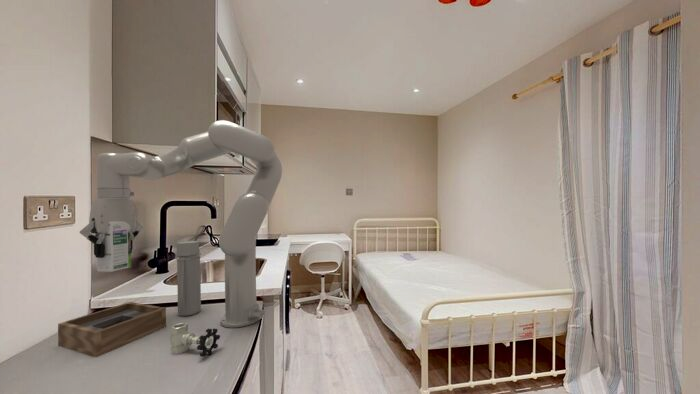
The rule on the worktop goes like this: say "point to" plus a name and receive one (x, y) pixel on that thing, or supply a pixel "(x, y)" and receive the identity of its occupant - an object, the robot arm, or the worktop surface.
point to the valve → (192, 340)
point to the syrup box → (116, 248)
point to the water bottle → (188, 278)
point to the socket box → (110, 328)
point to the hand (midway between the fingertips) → (114, 254)
